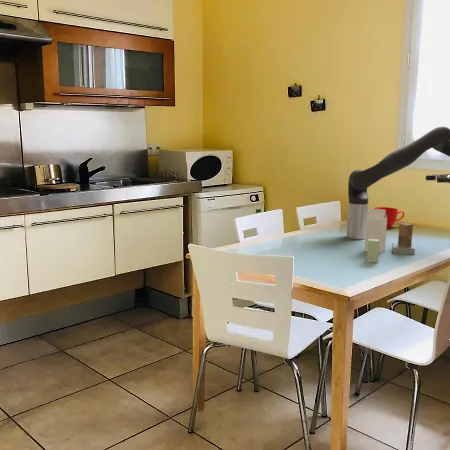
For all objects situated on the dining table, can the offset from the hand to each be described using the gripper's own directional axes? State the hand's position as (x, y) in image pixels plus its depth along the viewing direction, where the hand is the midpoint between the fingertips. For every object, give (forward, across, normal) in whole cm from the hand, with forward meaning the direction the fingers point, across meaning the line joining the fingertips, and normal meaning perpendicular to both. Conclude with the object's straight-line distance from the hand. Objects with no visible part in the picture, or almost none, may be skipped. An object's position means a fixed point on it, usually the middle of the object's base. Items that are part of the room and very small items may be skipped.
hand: (431, 178), depth 227 cm
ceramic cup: (-10, -52, +32) cm, 62 cm away
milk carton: (+24, -3, +32) cm, 40 cm away
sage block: (+32, +13, +32) cm, 47 cm away
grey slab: (+11, 0, +32) cm, 34 cm away
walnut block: (+11, 0, +30) cm, 31 cm away
